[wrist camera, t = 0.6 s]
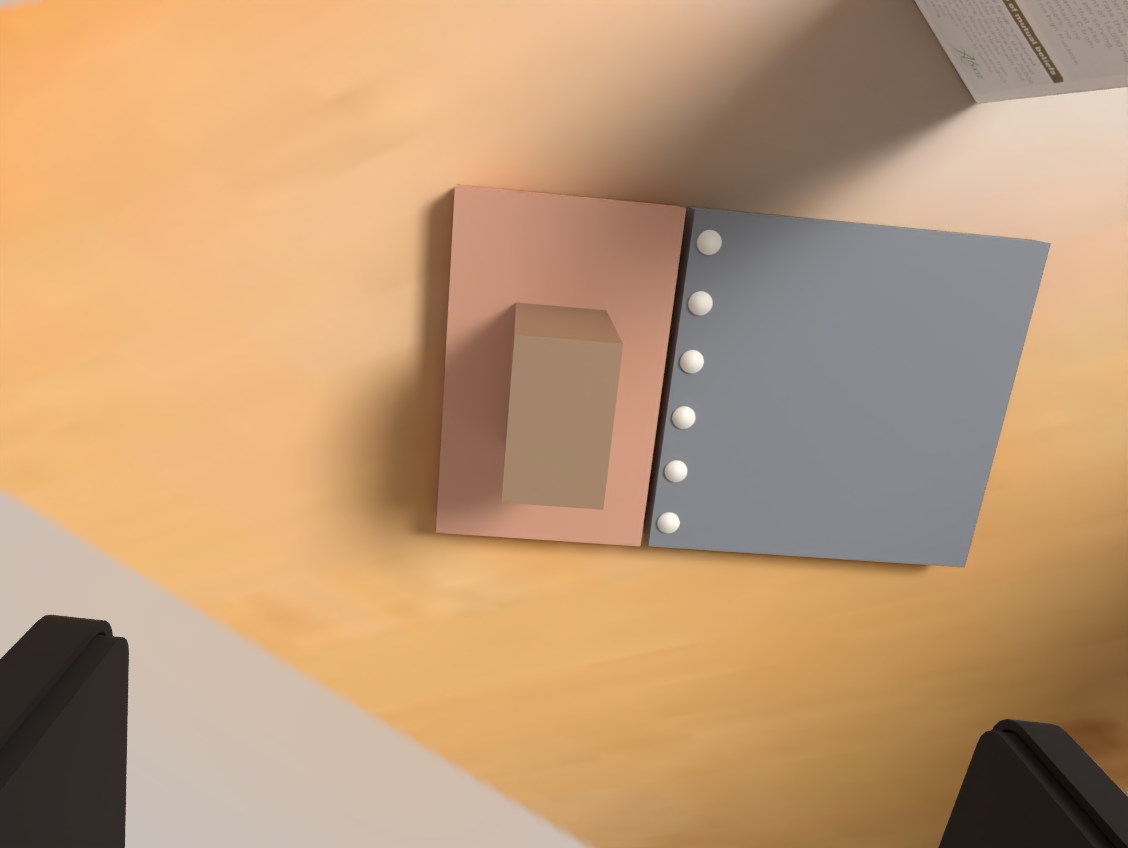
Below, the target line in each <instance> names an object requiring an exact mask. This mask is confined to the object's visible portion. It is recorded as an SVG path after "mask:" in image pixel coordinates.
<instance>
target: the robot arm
mask: <svg viewBox="0 0 1128 848" xmlns="http://www.w3.org/2000/svg"><path fill="white" fill-rule="evenodd" d="M128 666H129V648H128V643H127V640H126V639H125V638H123V637H114V636H113V635H112V629H111V626H110V624H109V623H108V622H107V621H103V620H94V619H85V618H76V617H67V616H56V615H46V616H44V617H42V618H41V619H40V620H38V621H37V622H36V623H35V624H34V625H33V626H32V627H31V628H30V629H29V631H27V632H26V634H25V635H24V636H23V637H22V638H21V639H20V640H19V641H18V642H17V643H16V644H15V645H14V646H13V647H12V648H11V649H10V650H9V651H8V652H7V653H6V654H5V655H4V656H3V657H2V658H1V659H0V848H125V815H126V765H127V764H126V763H127V716H128ZM939 848H1128V797H1127V796H1126V795H1125V794H1124V793H1123V792H1122V790H1121V789H1120V788H1119V787H1118V786H1117V785H1116V784H1115V783H1114V782H1113V781H1112V780H1111V779H1110V778H1109V777H1108V776H1107V775H1106V774H1105V773H1104V772H1103V770H1102V769H1101V768H1100V767H1099V766H1098V765H1097V764H1096V763H1095V762H1094V761H1093V760H1092V759H1091V758H1090V757H1089V756H1088V755H1087V754H1086V753H1085V752H1084V751H1083V749H1082V748H1081V747H1080V746H1079V745H1078V744H1077V743H1076V742H1075V741H1074V740H1073V739H1072V738H1071V737H1070V736H1069V735H1068V734H1067V733H1066V732H1065V731H1064V730H1063V729H1061V728H1060V727H1059V726H1056V725H1053V724H1047V723H1038V722H1029V721H1020V720H1010V719H1006V720H1002V721H999V722H998V723H997V724H996V725H995V726H994V727H993V729H992V731H987V732H985V733H984V734H983V735H982V736H981V737H980V739H979V741H978V743H977V746H976V749H975V751H974V754H973V757H972V759H971V762H970V765H969V768H968V770H967V773H966V776H965V778H964V781H963V784H962V786H961V789H960V792H959V794H958V797H957V800H956V802H955V805H954V808H953V810H952V813H951V816H950V818H949V821H948V824H947V826H946V829H945V832H944V835H943V837H942V840H941V843H940V845H939Z"/></svg>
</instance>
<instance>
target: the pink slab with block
mask: <svg viewBox="0 0 1128 848" xmlns="http://www.w3.org/2000/svg"><path fill="white" fill-rule="evenodd" d="M685 215H686V208H684V207H681V206H675V205H664V204H654V203H644V202H633V201H623V200H612V199H602V198H592V197H581V196H571V195H561V194H550V193H540V192H530V191H519V190H509V189H499V188H488V187H478V186H467V185H456V186H455V193H454V211H453V230H452V248H451V266H450V284H449V303H448V321H447V339H446V357H445V376H444V394H443V412H442V430H441V449H440V467H439V485H438V503H437V522H436V533H448V534H463V535H478V536H493V537H508V538H522V539H537V540H552V541H567V542H582V543H597V544H612V545H627V546H641V539H642V532H643V524H644V517H645V509H646V502H647V495H648V487H649V480H650V473H651V465H652V458H653V450H654V443H655V436H656V428H657V421H658V414H659V406H660V399H661V391H662V384H663V377H664V369H665V362H666V355H667V347H668V340H669V332H670V325H671V318H672V310H673V303H674V296H675V288H676V281H677V274H678V266H679V259H680V251H681V244H682V237H683V229H684V222H685Z"/></svg>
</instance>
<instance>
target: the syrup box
mask: <svg viewBox="0 0 1128 848" xmlns="http://www.w3.org/2000/svg"><path fill="white" fill-rule="evenodd" d="M914 1H915V2H916V4H917V6H918V7H919V9H920V11H921V13H922V14H923V16H924V17H925V19H926V21H927V22H928V24H929V26H930V27H931V29H932V31H933V32H934V34H935V35H936V37H937V39H938V40H939V42H940V44H941V46H942V47H943V49H944V50H945V52H946V54H947V55H948V57H949V59H950V60H951V62H952V64H953V65H954V67H955V69H956V70H957V72H958V73H959V75H960V77H961V79H962V81H963V82H964V84H965V85H966V87H967V88H968V90H969V92H970V93H971V95H972V96H973V98H974V100H975V101H976V102H978V103H987V102H996V101H1004V100H1012V99H1021V98H1031V97H1040V96H1049V95H1059V94H1067V93H1076V92H1086V91H1095V90H1103V89H1112V88H1120V87H1128V0H914Z"/></svg>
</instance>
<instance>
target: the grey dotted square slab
mask: <svg viewBox="0 0 1128 848" xmlns="http://www.w3.org/2000/svg"><path fill="white" fill-rule="evenodd" d="M1050 244H1051V243H1045V242H1040V241H1035V240H1029V239H1019V238H1009V237H998V236H988V235H977V234H967V233H957V232H946V231H936V230H926V229H915V228H905V227H895V226H884V225H874V224H864V223H853V222H843V221H832V220H822V219H812V218H801V217H791V216H781V215H770V214H760V213H750V212H739V211H729V210H719V209H708V208H698V207H688V213H687V220H686V228H685V235H684V242H683V250H682V257H681V264H680V272H679V279H678V286H677V294H676V301H675V308H674V316H673V323H672V330H671V338H670V345H669V352H668V360H667V367H666V374H665V382H664V389H663V397H662V404H661V411H660V419H659V426H658V433H657V441H656V448H655V455H654V463H653V470H652V477H651V485H650V492H649V499H648V507H647V514H646V521H645V529H644V534H645V537H646V540H647V543H648V546H651V547H666V548H681V549H696V550H711V551H726V552H741V553H756V554H771V555H785V556H800V557H815V558H830V559H845V560H860V561H875V562H890V563H905V564H920V565H935V566H950V567H965V564H966V560H967V557H968V553H969V549H970V545H971V542H972V538H973V534H974V530H975V527H976V523H977V519H978V515H979V512H980V508H981V504H982V500H983V496H984V493H985V489H986V485H987V481H988V478H989V474H990V470H991V466H992V463H993V459H994V455H995V451H996V448H997V444H998V440H999V436H1000V432H1001V429H1002V425H1003V421H1004V417H1005V414H1006V410H1007V406H1008V402H1009V399H1010V395H1011V391H1012V387H1013V383H1014V380H1015V376H1016V372H1017V368H1018V365H1019V361H1020V357H1021V353H1022V350H1023V346H1024V342H1025V338H1026V335H1027V331H1028V327H1029V323H1030V319H1031V316H1032V312H1033V308H1034V304H1035V301H1036V297H1037V293H1038V289H1039V286H1040V282H1041V278H1042V274H1043V271H1044V267H1045V263H1046V259H1047V255H1048V252H1049V248H1050Z"/></svg>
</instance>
